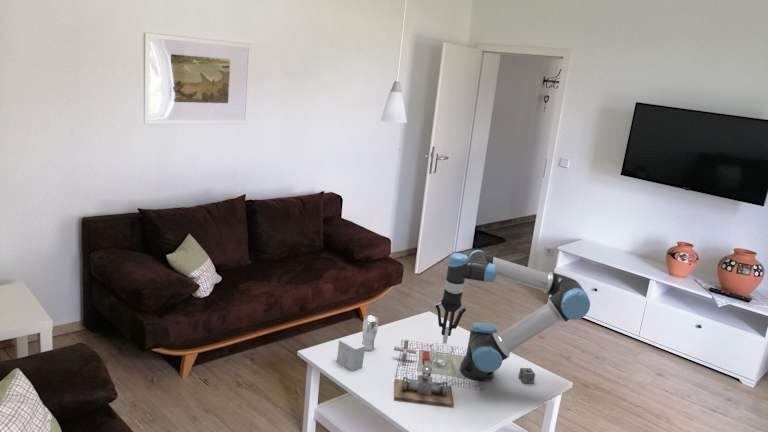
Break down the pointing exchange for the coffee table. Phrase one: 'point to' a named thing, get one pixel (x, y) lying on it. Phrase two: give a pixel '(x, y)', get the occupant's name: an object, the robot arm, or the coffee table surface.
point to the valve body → (424, 386)
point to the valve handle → (426, 364)
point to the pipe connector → (405, 349)
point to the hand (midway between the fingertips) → (444, 342)
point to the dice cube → (526, 375)
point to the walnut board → (422, 396)
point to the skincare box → (350, 353)
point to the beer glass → (369, 332)
